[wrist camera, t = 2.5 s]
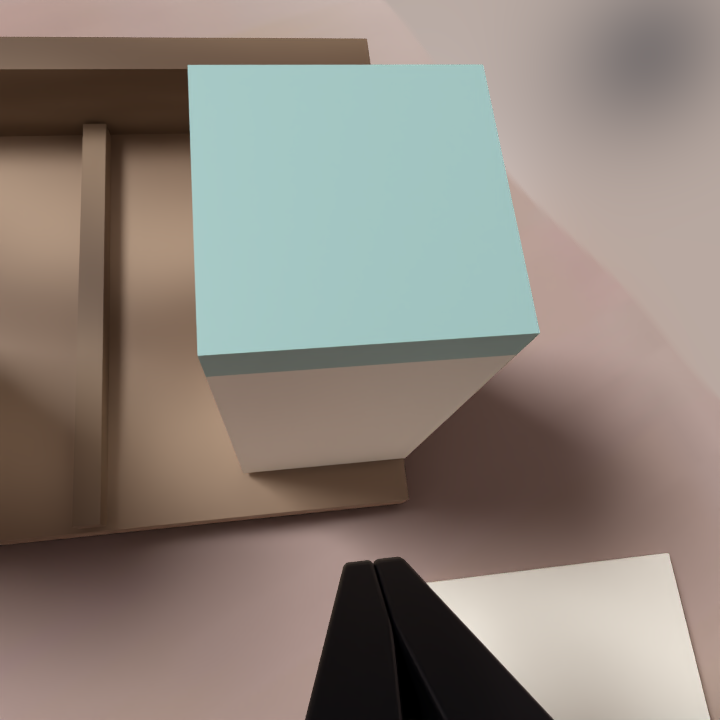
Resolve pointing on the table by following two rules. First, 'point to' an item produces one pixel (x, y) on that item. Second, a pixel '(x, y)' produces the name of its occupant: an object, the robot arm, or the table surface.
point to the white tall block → (349, 255)
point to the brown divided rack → (124, 299)
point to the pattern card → (588, 637)
